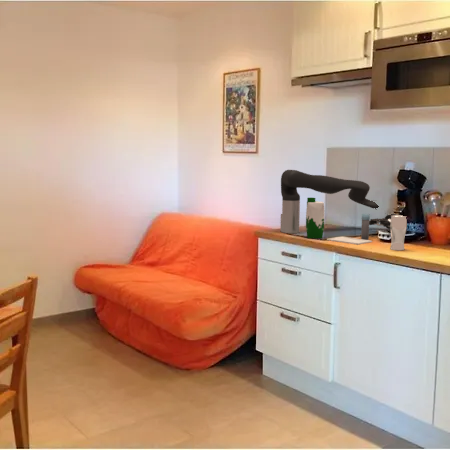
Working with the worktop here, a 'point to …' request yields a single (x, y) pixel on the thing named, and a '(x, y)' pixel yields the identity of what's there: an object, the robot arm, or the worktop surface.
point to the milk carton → (314, 218)
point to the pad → (349, 240)
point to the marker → (365, 226)
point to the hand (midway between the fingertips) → (376, 223)
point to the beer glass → (398, 231)
